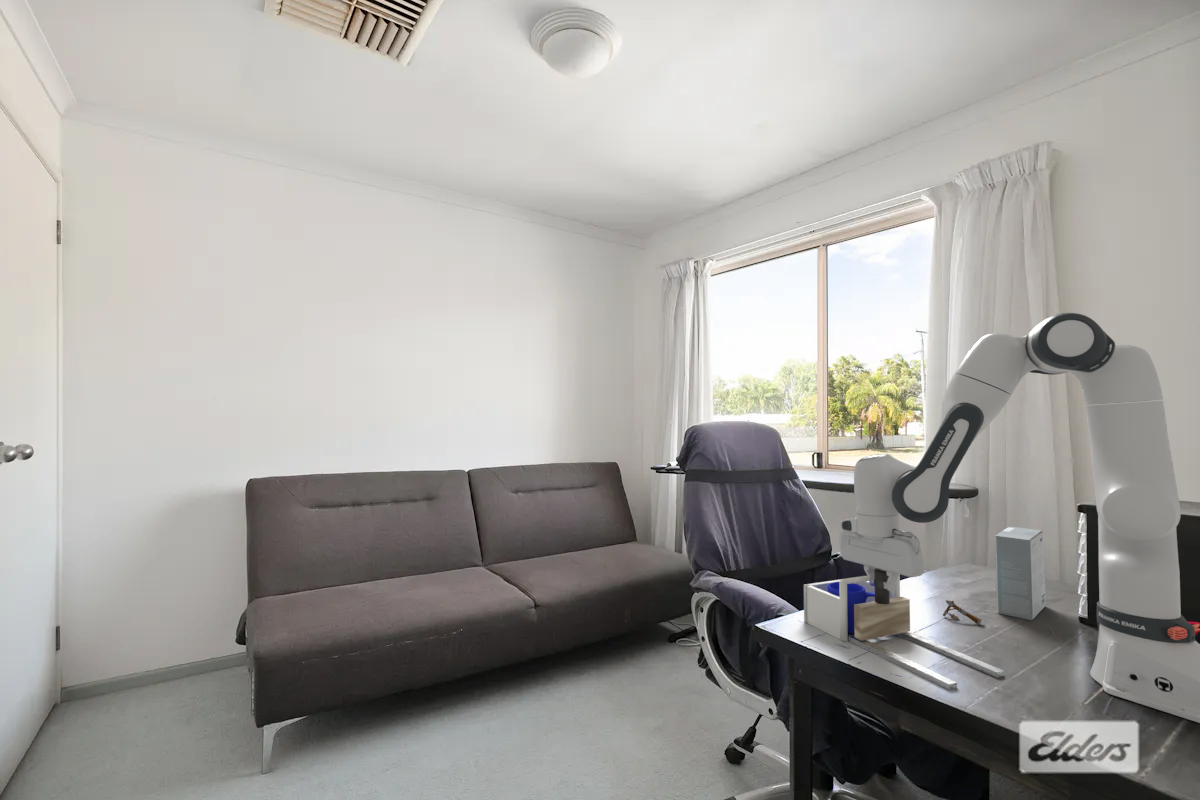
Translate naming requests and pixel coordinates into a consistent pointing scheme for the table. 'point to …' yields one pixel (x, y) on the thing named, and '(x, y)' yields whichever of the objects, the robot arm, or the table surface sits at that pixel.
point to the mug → (851, 599)
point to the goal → (835, 605)
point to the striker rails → (922, 670)
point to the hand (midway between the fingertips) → (881, 587)
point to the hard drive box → (1020, 572)
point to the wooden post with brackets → (962, 611)
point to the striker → (881, 612)
